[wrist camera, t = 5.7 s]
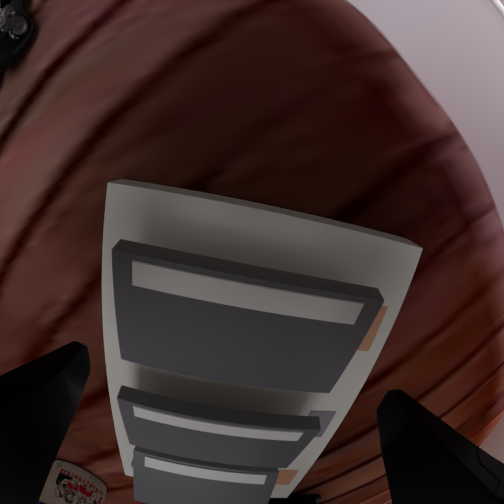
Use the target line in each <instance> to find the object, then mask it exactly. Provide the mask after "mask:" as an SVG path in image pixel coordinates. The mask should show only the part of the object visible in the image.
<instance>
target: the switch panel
mask: <svg viewBox="0 0 504 504" xmlns="http://www.w3.org/2000/svg"><path fill="white" fill-rule="evenodd" d="M120 239H124V240H129V241H134V242H139V243H143V244H148V245H153V246H158V247H163V248H168V249H173V250H178V251H183V252H188V253H193V254H198V255H203V256H208V257H214V258H219V259H224V260H229V261H234V262H239V263H245V264H250V265H255V266H260V267H265V268H271V269H276V270H281V271H287V272H292V273H297V274H303V275H308V276H314V277H319V278H324V279H330V280H335V281H341V282H346V283H352V284H357V285H363V286H369V287H374V288H378V289H379V291H380V293H381V295H382V297H383V299H384V303H383V305H382V307H381V309H380V310H379V312H378V314H377V316H376V318H375V320H374V321H373V323H372V325H371V327H370V329H369V330H368V332H367V334H366V336H365V337H364V339H363V341H362V343H361V344H360V346H359V348H358V349H357V351H356V353H355V354H354V356H353V358H352V359H351V361H350V362H349V364H348V366H347V367H346V369H345V370H344V372H343V373H342V375H341V377H340V378H339V380H338V381H337V383H336V384H335V386H334V387H333V389H332V390H331V392H330V393H316V392H302V391H290V390H280V389H271V388H263V387H255V386H247V385H240V384H234V383H227V382H221V381H215V380H210V379H204V378H199V377H194V376H189V375H184V374H179V373H175V372H170V371H166V370H161V369H157V368H153V367H149V366H145V365H141V364H137V363H134V362H130V361H126V360H123V359H121V355H120V348H119V341H118V332H117V324H116V314H115V303H114V290H113V274H112V248H113V247H114V246H115V245H116V244H117V242H118V241H119V240H120ZM422 249H423V248H421V247H420V246H418V245H417V244H415V243H413V242H412V241H410V240H408V239H406V238H403V237H399V236H395V235H392V234H388V233H384V232H380V231H376V230H373V229H369V228H365V227H361V226H357V225H353V224H349V223H345V222H341V221H336V220H332V219H328V218H324V217H320V216H315V215H311V214H307V213H302V212H298V211H293V210H289V209H284V208H280V207H275V206H270V205H266V204H261V203H256V202H251V201H246V200H241V199H236V198H231V197H226V196H221V195H215V194H210V193H205V192H199V191H194V190H188V189H182V188H177V187H171V186H165V185H159V184H153V183H146V182H140V181H133V180H127V179H120V180H116V181H112V182H108V185H107V194H106V204H105V215H104V230H103V249H102V315H103V335H104V349H105V360H106V370H107V379H108V387H109V395H110V401H111V408H112V414H113V420H114V426H115V431H116V436H117V441H118V446H119V450H120V455H121V459H122V463H123V468H124V472H125V475H129V476H132V477H133V450H134V448H135V445H131V444H130V443H129V440H128V437H127V434H126V430H125V427H124V423H123V420H122V416H121V413H120V409H119V405H118V401H117V396H118V393H119V390H120V388H121V385H123V386H127V387H131V388H134V389H138V390H142V391H145V392H149V393H153V394H157V395H162V396H166V397H170V398H175V399H179V400H184V401H189V402H194V403H200V404H205V405H211V406H217V407H223V408H230V409H237V410H244V411H253V412H262V413H272V414H283V415H298V416H319V420H320V427H321V430H320V431H319V433H318V434H317V435H316V436H315V437H314V438H313V440H312V441H311V442H310V443H309V444H308V445H307V447H306V448H305V449H304V450H303V451H302V452H301V453H300V454H299V455H298V457H297V458H296V459H295V460H294V461H293V462H292V463H291V464H290V465H289V466H288V467H287V468H278V470H279V475H278V478H277V481H276V483H275V486H274V489H273V492H272V494H271V497H270V498H287V497H288V496H289V495H290V493H291V492H292V491H293V490H294V488H295V487H296V486H297V485H298V483H299V482H300V481H301V480H302V478H303V477H304V476H305V474H306V473H307V472H308V470H309V469H310V468H311V466H312V465H313V463H314V462H315V461H316V459H317V458H318V457H319V455H320V454H321V452H322V451H323V449H324V448H325V446H326V445H327V444H328V442H329V441H330V439H331V438H332V436H333V434H334V433H335V431H336V430H337V428H338V427H339V425H340V424H341V422H342V420H343V419H344V417H345V416H346V414H347V412H348V411H349V409H350V407H351V406H352V404H353V402H354V400H355V399H356V397H357V395H358V393H359V392H360V390H361V388H362V386H363V385H364V383H365V381H366V379H367V377H368V375H369V373H370V372H371V370H372V368H373V366H374V364H375V362H376V360H377V358H378V356H379V354H380V352H381V350H382V348H383V346H384V344H385V342H386V339H387V337H388V335H389V333H390V331H391V329H392V326H393V324H394V322H395V320H396V317H397V315H398V313H399V310H400V308H401V305H402V303H403V301H404V298H405V296H406V293H407V291H408V288H409V285H410V283H411V280H412V278H413V275H414V272H415V269H416V267H417V264H418V261H419V258H420V255H421V252H422Z"/></svg>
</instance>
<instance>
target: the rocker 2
mask: <svg viewBox="0 0 504 504" xmlns="http://www.w3.org/2000/svg"><path fill="white" fill-rule="evenodd" d="M117 401H118V405H119V409H120V413H121V416H122V420H123V423H124V427H125V430H126V434H127V437H128V440H129V443H130V444H131V445H135V446H138V447H142V448H146V449H150V450H154V451H158V452H162V453H166V454H171V455H176V456H181V457H186V458H191V459H197V460H203V461H209V462H216V463H223V464H232V465H241V466H252V467H267V468H287V467H288V466H289V465H290V464H291V463H292V462H293V461H294V460H295V459H296V458H297V457H298V455H299V454H300V453H301V452H302V451H303V450H304V449H305V448H306V447H307V445H308V444H309V443H310V442H311V441H312V440H313V438H314V437H315V436H316V435H317V434H318V433H319V431H320V430H321V427H320V420H319V416H298V415H283V414H272V413H262V412H253V411H244V410H237V409H230V408H223V407H217V406H211V405H205V404H200V403H194V402H189V401H184V400H179V399H175V398H170V397H166V396H162V395H157V394H153V393H149V392H145V391H142V390H138V389H134V388H131V387H127V386H123V385H121V388H120V390H119V393H118V396H117Z"/></svg>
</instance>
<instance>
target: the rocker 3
mask: <svg viewBox="0 0 504 504" xmlns="http://www.w3.org/2000/svg"><path fill="white" fill-rule="evenodd" d="M278 475H279V470H278V468H267V467H252V466H241V465H232V464H223V463H216V462H209V461H203V460H197V459H191V458H186V457H181V456H176V455H171V454H166V453H162V452H158V451H154V450H150V449H146V448H142V447H138V446H135V448H134V450H133V481H134V500H137V501H140V502H144V503H148V504H268V502H269V499H270V497H271V494H272V492H273V489H274V486H275V483H276V481H277V478H278Z"/></svg>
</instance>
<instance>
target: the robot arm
mask: <svg viewBox="0 0 504 504" xmlns="http://www.w3.org/2000/svg"><path fill="white" fill-rule="evenodd" d="M89 373H90V360H89V353H88V347H87V346H86V345H85V344H82V343H79V342H76V341H73V342H71V343H69V344H66V345H64V346H62V347H60V348H58V349H56V350H54V351H52V352H49V353H47V354H45V355H43V356H41V357H39V358H37V359H35V360H33V361H30V362H28V363H26V364H24V365H22V366H20V367H18V368H15V369H13V370H11V371H9V372H7V373H5V374H3V375H1V376H0V504H38V501H39V499H40V496H41V493H42V491H43V488H44V485H45V483H46V480H47V478H48V475H49V473H50V470H51V468H52V465H53V463H54V461H55V458H56V456H57V454H58V451H59V449H60V447H61V444H62V442H63V440H64V438H65V435H66V433H67V431H68V429H69V427H70V425H71V422H72V420H73V418H74V416H75V413H76V410H77V408H78V405H79V402H80V399H81V396H82V393H83V390H84V387H85V384H86V382H87V379H88V376H89ZM376 415H377V422H378V429H379V437H380V445H381V452H382V457H383V461H384V466H385V470H386V475H387V480H388V484H389V489H390V494H391V499H392V504H504V464H503V463H502V462H500V461H499V460H497V459H495V458H494V457H492V456H490V455H489V454H488V453H486V452H485V451H483V450H482V449H481V448H479V447H478V446H475V444H474V443H472V442H471V441H470V440H468V439H467V438H465V437H464V436H463V435H461V434H460V433H459V432H457V431H456V430H455V429H453V428H452V427H450V426H449V425H448V424H446V423H445V422H444V421H442V420H441V419H440V418H438V417H437V416H436V415H434V414H433V413H432V412H430V411H429V410H427V409H426V408H425V407H423V406H422V405H421V404H419V403H418V402H417V401H415V400H414V399H413V398H411V397H410V396H409V395H408V394H406V393H405V392H404V391H402V390H400V389H392V390H389V391H388V392H387V393H386V395H385V396H384V398H383V399H382V401H381V402H380V404H379V406H378V407H377V412H376ZM320 499H321V496H320V495H308V496H288V497H287V498H270V499H269V502H268V504H316V503H317V502H318V501H319V500H320Z"/></svg>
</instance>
